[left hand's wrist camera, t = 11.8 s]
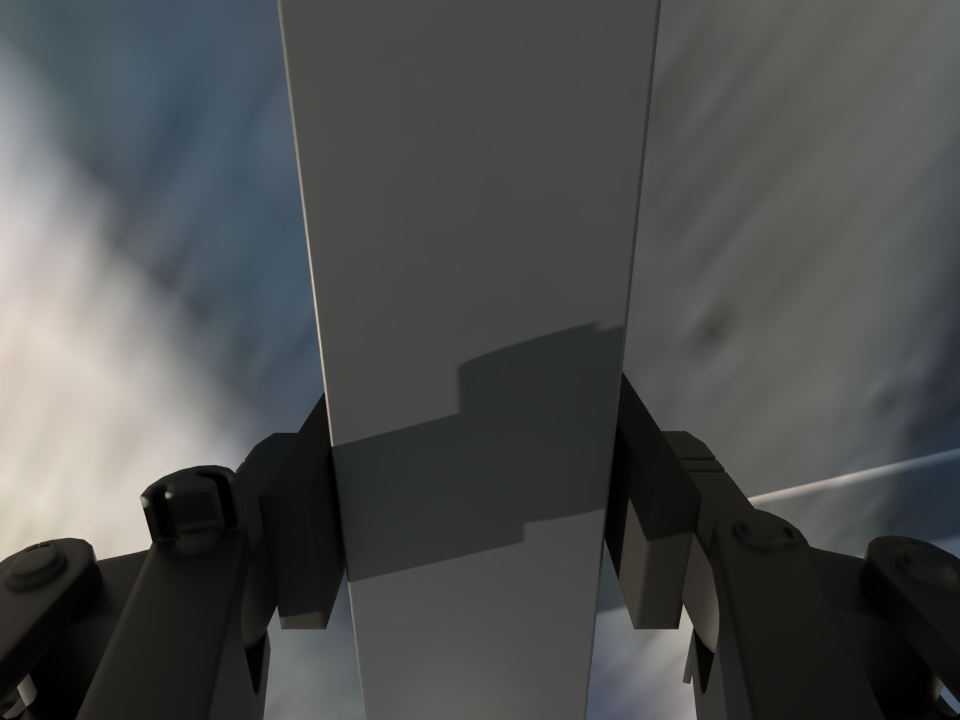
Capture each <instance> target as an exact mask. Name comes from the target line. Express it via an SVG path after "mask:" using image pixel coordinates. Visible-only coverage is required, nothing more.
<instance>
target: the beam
mask: <svg viewBox="0 0 960 720" xmlns="http://www.w3.org/2000/svg"><path fill="white" fill-rule="evenodd" d="M277 3H278V11H279V19H280V27H281V36H282V44H283V52H284V60H285V68H286V77H287V85H288V93H289V101H290V110H291V118H292V126H293V134H294V143H295V151H296V159H297V167H298V176H299V184H300V192H301V200H302V208H303V217H304V225H305V233H306V241H307V250H308V258H309V266H310V274H311V283H312V291H313V299H314V307H315V316H316V324H317V332H318V340H319V349H320V357H321V365H322V373H323V381H324V390H325V398H326V406H327V414H328V423H329V431H330V439H331V447H332V456H333V464H334V472H335V480H336V489H337V497H338V505H339V513H340V521H341V530H342V538H343V546H344V554H345V563H346V571H347V579H348V587H349V596H350V604H351V612H352V620H353V629H354V637H355V645H356V653H357V661H358V670H359V678H360V686H361V694H362V703H363V711H364V719H365V720H586V710H587V701H588V691H589V682H590V672H591V663H592V653H593V643H594V634H595V624H596V615H597V605H598V596H599V586H600V577H601V567H602V558H603V548H604V539H605V529H606V520H607V510H608V500H609V491H610V481H611V472H612V462H613V453H614V443H615V434H616V424H617V415H618V405H619V396H620V386H621V377H622V367H623V357H624V348H625V338H626V329H627V319H628V310H629V300H630V291H631V281H632V272H633V262H634V253H635V243H636V234H637V224H638V214H639V205H640V195H641V186H642V176H643V167H644V157H645V148H646V138H647V129H648V119H649V110H650V100H651V91H652V81H653V71H654V62H655V52H656V43H657V33H658V24H659V14H660V5H661V0H277Z"/></svg>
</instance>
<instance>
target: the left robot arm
mask: <svg viewBox="0 0 960 720" xmlns="http://www.w3.org/2000/svg"><path fill="white" fill-rule="evenodd" d="M724 470H725V469H724V468H723V467H722V465H721V464H720V463H719V462H718V460H715V456H714V455H713V454H712V452H711V451H710V450H709V449H708V447H707V446H706V445H705V443H703V442H702V441H700V440H699V439H697V438H695V437H694V436H692V435H691V434H689V433H688V432H686V431H660V429H659V427H658V426H657V424H656V423H655V421H654V420H653V418H652V417H651V415H650V413H649V412H648V410H647V409H646V407H645V406H644V404H643V403H642V401H641V400H640V398H639V396H638V395H637V393H636V392H635V390H634V389H633V387H632V386H631V384H630V383H629V381H628V379H627V378H626V376H625V375H624V373H623V372H622V377H621V386H620V396H619V405H618V415H617V424H616V434H615V443H614V453H613V462H612V472H611V481H610V491H609V500H608V510H607V520H606V529H605V540H606V543H607V546H608V549H609V553H610V556H611V559H612V562H613V565H614V568H615V571H616V574H617V577H618V580H619V584H620V587H621V590H622V593H623V596H624V599H625V602H626V605H627V608H628V611H629V615H630V618H631V621H632V624H633V627H634V629H679V623H680V618H681V612H682V607H683V604H684V606H685V608H686V610H687V613H688V615H689V617H690V619H691V622H692V624H693V626H694V627H693V632H692V637H691V642H690V647H689V652H688V657H687V662H686V667H685V673H684V679H683V682H684V683H688V684H690V682H691V677H693V686H694V696H695V705H696V715H697V720H960V714H958V713H956V712H955V711H954V710H953V709H952V708H951V707H950V706H949V705H948V704H947V702H946V701H945V700H944V699H943V697H942V696H941V695H940V693H941V690H942V688H943V686H944V685H945V686H946V687H947V689H948V690H949V691H950V692H951V693H952V695H953V696H954V697H955V698H956V699H957V700H958V702H959V703H960V559H958V558H957V557H956V556H954V555H952V554H950V553H948V552H946V551H944V550H942V549H940V548H938V547H936V546H935V545H933V544H930V543H927V542H924V541H923V542H922V541H921V540H917V539H913V538H907V537H900V536H892V535H891V536H883V537H877V538H875V539H874V540H873V541H871V542H870V543H869V544H868V547H867V550H866V553H865V556H864V559H863V558H858V557H853V556H848V555H843V554H839V553H834V552H829V551H824V550H820V549H816V548H813V547H810V546H809V544H808V542H807V540H806V539H805V537H804V536H803V535H802V533H801V532H800V531H799V530H798V529H797V528H795V527H794V526H793V525H791V524H790V523H789V522H787V521H786V520H784V519H782V518H780V517H778V516H776V515H773V514H771V513H769V512H765V511H761V510H757V509H755V508H754V507H753V506H752V505H751V503H750V502H749V501H748V499H747V498H746V497H745V495H744V494H743V493H742V492H741V490H740V489H739V488H738V486H737V485H736V484H735V482H734V481H733V480H732V478H731V477H730V476H729V475H728V473H727V472H725V471H724ZM140 499H141V502H142V506H143V509H144V513H145V517H146V520H147V524H148V527H149V531H150V534H151V538H152V542H153V543H152V545H151V547H150V549H148V550H145V551H141V552H137V553H132V554H128V555H123V556H118V557H113V558H109V559H104V560H99V561H97V559H96V556H95V553H94V550H93V547H92V545H90V544H89V543H88V542H86V541H85V540H83V539H75V538H64V539H56V540H49V541H45V542H41V543H40V544H35V545H32V546H29V547H27V548H25V549H24V550H22V551H20V552H18V553H15V554H13V555H11V556H9V557H7V558H6V559H5V560H3V561H2V562H0V707H1V706H2V705H3V703H4V702H5V701H6V700H7V699H8V697H9V696H10V695H11V694H12V693H13V691H14V690H15V689H16V688H18V690H19V693H20V695H21V697H20V698H19V699H18V701H17V702H16V703H15V704H14V706H13V707H12V708H11V709H10V710H9V711H7V712H6V713H5V714H4V715H3V716H2V715H0V720H263V716H264V707H265V697H266V688H267V678H268V669H269V659H270V650H271V649H270V643H269V637H268V632H267V627H268V624H269V622H270V620H271V618H272V615H273V613H274V611H275V609H276V606H277V607H278V612H279V618H280V623H281V628H282V629H326V627H327V624H328V621H329V618H330V615H331V612H332V608H333V605H334V602H335V599H336V596H337V593H338V590H339V587H340V584H341V581H342V577H343V574H344V571H345V568H346V563H345V554H344V546H343V538H342V530H341V521H340V513H339V505H338V497H337V489H336V480H335V472H334V464H333V456H332V447H331V439H330V431H329V423H328V414H327V406H326V398H325V392H324V393H323V395H322V396H321V398H320V400H319V401H318V403H317V404H316V406H315V407H314V409H313V410H312V412H311V414H310V415H309V417H308V418H307V420H306V421H305V423H304V424H303V426H302V427H301V429H300V431H299V432H298V433H274V434H272V435H271V436H269V437H268V438H266V439H264V440H263V441H261V442H260V443H258V444H257V445H256V446H255V447H254V448H253V449H252V451H251V452H250V453H249V455H248V456H247V457H246V459H245V462H243V463H242V464H241V465H240V466H239V468H238V469H237V470H236V473H234V472H233V471H232V470H231V469H229V468H226V467H222V466H217V465H207V466H196V467H191V468H187V469H182V470H179V471H177V472H174V473H172V474H169V475H167V476H164V477H162V478H161V479H159V480H158V481H156V482H155V483H153V484H151V485H150V486H149V487H148V488H147V489H146V490H145V491H144V492H143V494H142V495H141V496H140Z"/></svg>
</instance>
